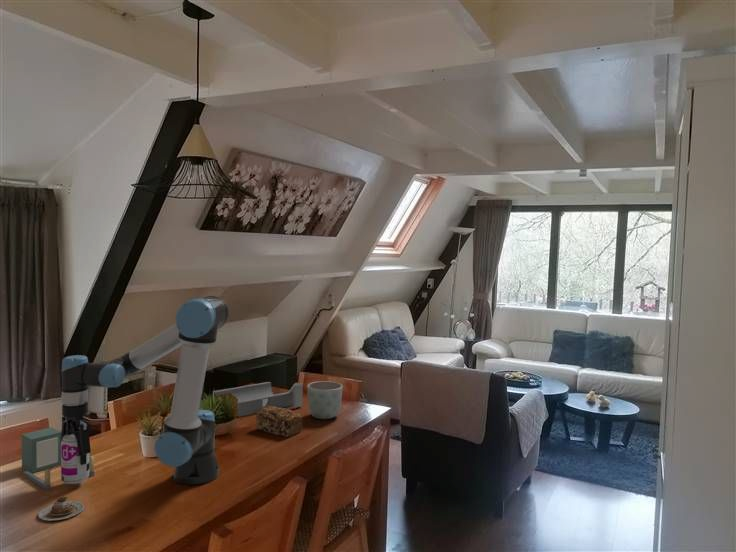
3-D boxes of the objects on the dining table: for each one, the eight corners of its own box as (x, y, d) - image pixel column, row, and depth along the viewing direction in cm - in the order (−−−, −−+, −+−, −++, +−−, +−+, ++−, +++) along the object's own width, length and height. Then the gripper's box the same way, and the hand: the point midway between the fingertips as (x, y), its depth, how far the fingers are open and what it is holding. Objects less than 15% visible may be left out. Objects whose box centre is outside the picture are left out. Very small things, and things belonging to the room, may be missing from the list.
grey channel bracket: (268, 394, 297) (268, 372, 297) (302, 408, 274) (303, 384, 273) (212, 405, 275) (212, 381, 274) (244, 421, 252) (245, 394, 251)
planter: (348, 415, 263) (349, 384, 262) (327, 424, 249) (328, 392, 248) (321, 409, 272) (321, 379, 271) (299, 417, 258) (300, 386, 257)
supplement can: (77, 486, 176) (77, 440, 175) (55, 483, 177) (55, 438, 176) (94, 475, 183) (94, 432, 183) (73, 473, 185) (73, 430, 184)
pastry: (73, 523, 157) (73, 508, 156) (29, 524, 156) (29, 508, 155) (90, 504, 168) (90, 489, 168) (50, 504, 167) (50, 490, 167)
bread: (255, 429, 239) (255, 407, 239) (271, 423, 249) (272, 402, 248) (287, 438, 230) (288, 415, 229) (303, 431, 239) (303, 409, 238)
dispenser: (94, 475, 188) (94, 441, 188) (46, 491, 175) (46, 454, 175) (59, 456, 203) (59, 425, 203) (12, 469, 191) (12, 436, 190)
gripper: (102, 406, 176) (102, 474, 177) (71, 394, 188) (71, 458, 189) (78, 411, 170) (79, 482, 171) (48, 399, 182) (49, 465, 183)
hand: (75, 469), depth 180 cm, fingers closed on supplement can, 8 cm apart
